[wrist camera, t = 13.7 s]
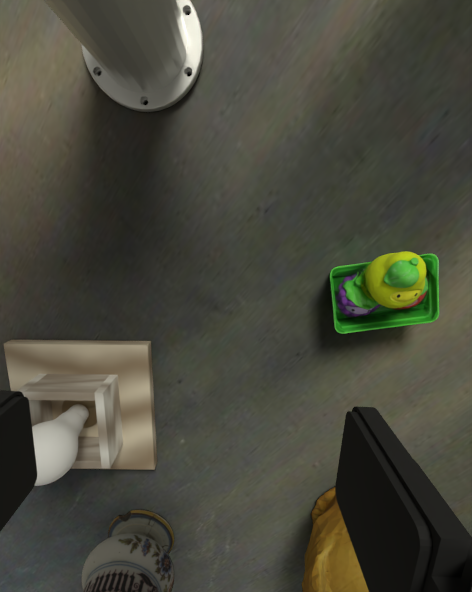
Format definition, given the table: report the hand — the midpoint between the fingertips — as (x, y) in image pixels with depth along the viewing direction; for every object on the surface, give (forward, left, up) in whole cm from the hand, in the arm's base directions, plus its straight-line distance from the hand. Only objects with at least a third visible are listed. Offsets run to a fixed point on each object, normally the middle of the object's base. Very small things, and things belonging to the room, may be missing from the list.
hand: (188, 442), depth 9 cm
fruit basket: (0, +17, -31) cm, 35 cm away
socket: (+17, -19, -31) cm, 40 cm away
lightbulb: (+17, -19, -29) cm, 39 cm away
